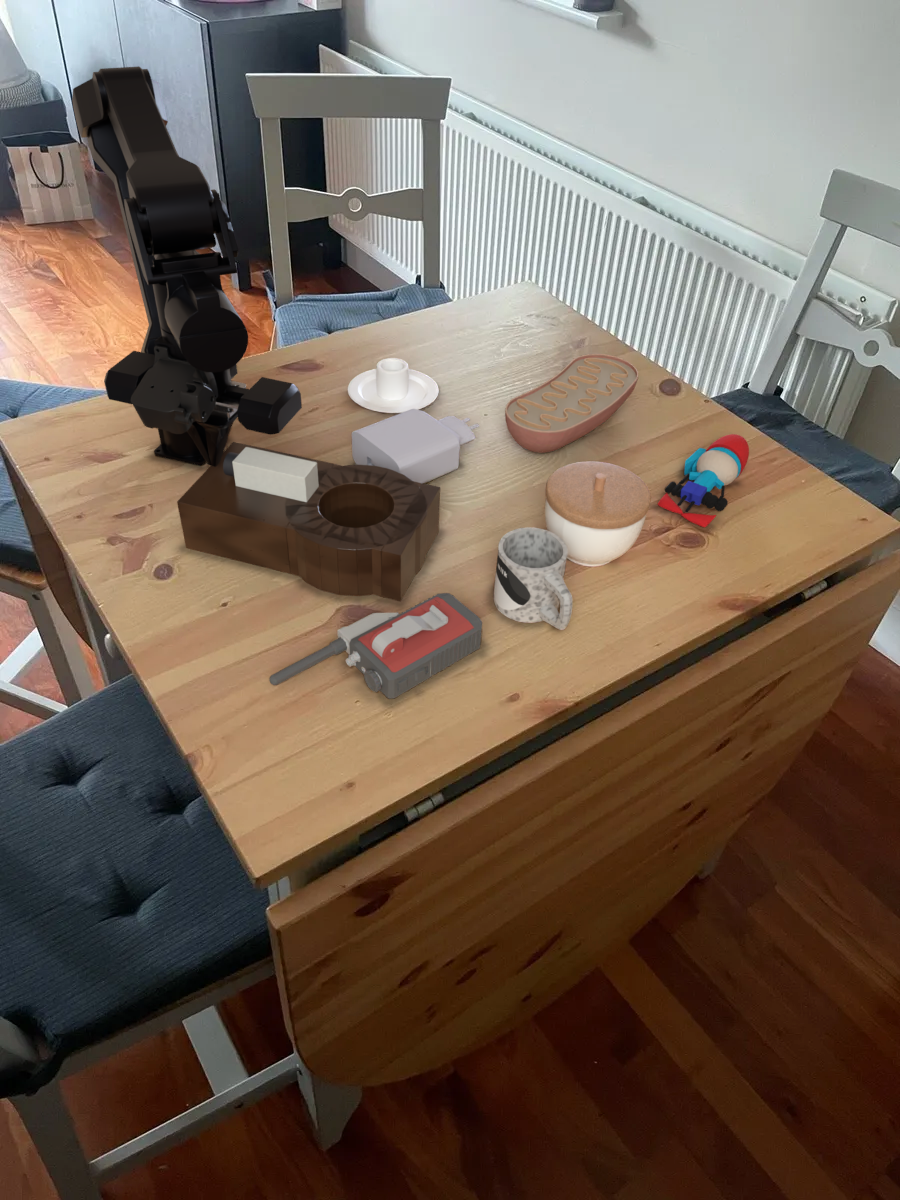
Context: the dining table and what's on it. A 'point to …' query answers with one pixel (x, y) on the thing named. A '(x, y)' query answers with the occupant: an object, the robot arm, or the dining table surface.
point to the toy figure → (708, 477)
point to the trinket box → (596, 510)
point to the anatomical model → (570, 402)
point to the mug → (532, 577)
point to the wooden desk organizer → (319, 526)
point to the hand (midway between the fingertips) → (214, 464)
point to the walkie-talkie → (401, 645)
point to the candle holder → (393, 388)
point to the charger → (413, 444)
